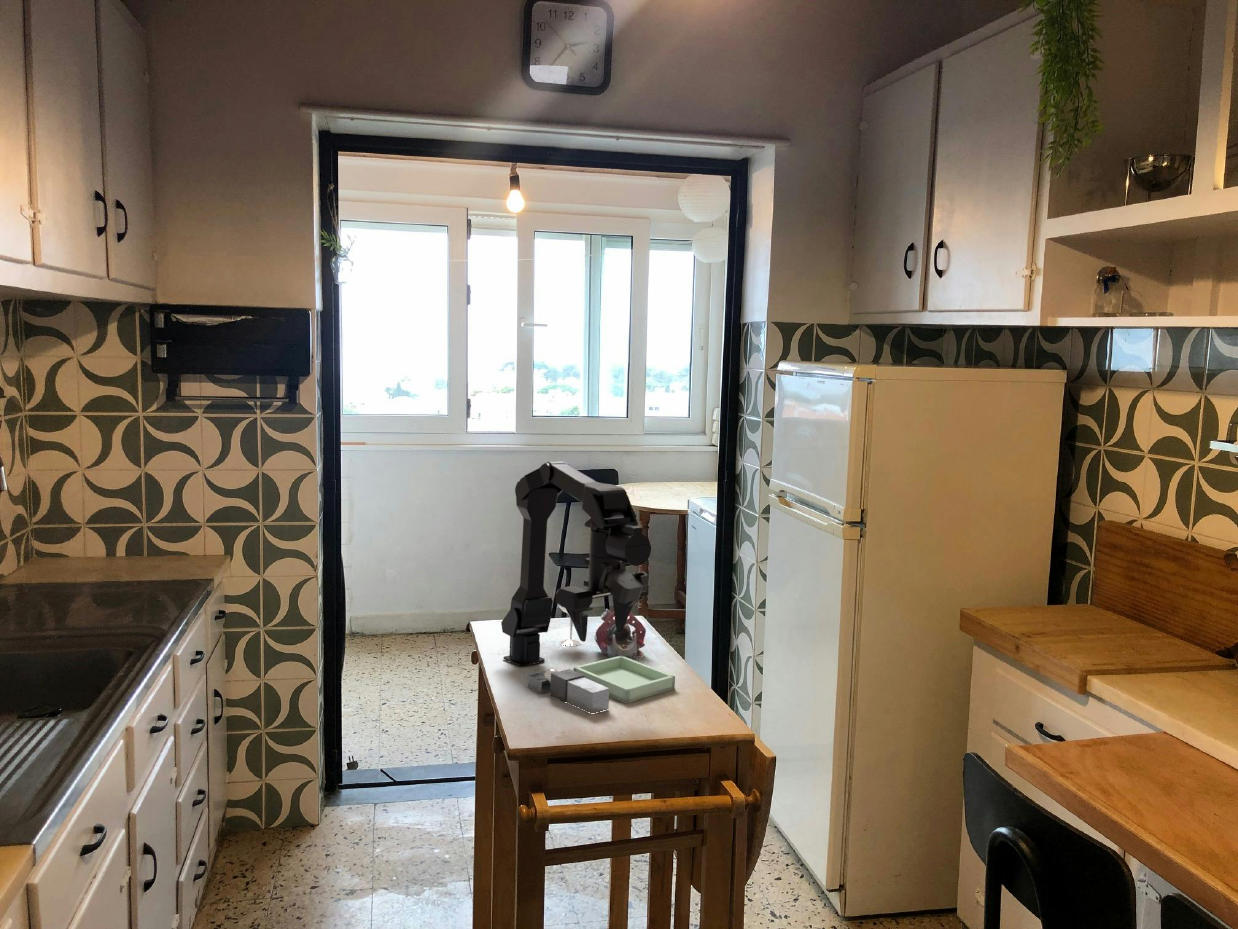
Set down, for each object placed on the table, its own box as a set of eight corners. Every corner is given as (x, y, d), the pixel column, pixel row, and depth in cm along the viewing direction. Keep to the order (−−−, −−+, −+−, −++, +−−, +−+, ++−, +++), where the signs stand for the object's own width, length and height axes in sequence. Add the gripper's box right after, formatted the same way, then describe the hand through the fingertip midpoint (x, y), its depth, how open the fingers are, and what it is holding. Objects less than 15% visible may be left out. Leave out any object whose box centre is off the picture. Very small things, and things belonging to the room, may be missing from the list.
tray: (572, 679, 191) (573, 667, 191) (620, 667, 200) (621, 655, 199) (626, 703, 179) (626, 689, 179) (674, 689, 188) (675, 676, 188)
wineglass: (589, 646, 213) (591, 594, 211) (559, 648, 211) (561, 595, 209) (581, 638, 219) (583, 587, 218) (552, 639, 217) (554, 588, 216)
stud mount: (527, 687, 186) (528, 667, 185) (551, 681, 190) (552, 661, 189) (543, 695, 182) (544, 674, 181) (568, 688, 186) (568, 668, 185)
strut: (550, 696, 182) (550, 673, 181) (568, 691, 185) (569, 668, 184) (590, 715, 173) (591, 691, 172) (609, 710, 176) (610, 686, 175)
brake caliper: (603, 654, 200) (596, 601, 206) (591, 671, 209) (585, 620, 215) (654, 652, 203) (646, 599, 209) (641, 669, 213) (633, 618, 218)
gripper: (596, 569, 163) (592, 657, 165) (671, 556, 176) (667, 638, 178) (555, 557, 171) (552, 641, 173) (629, 546, 184) (626, 624, 186)
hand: (601, 636), depth 177 cm, fingers open, 9 cm apart
